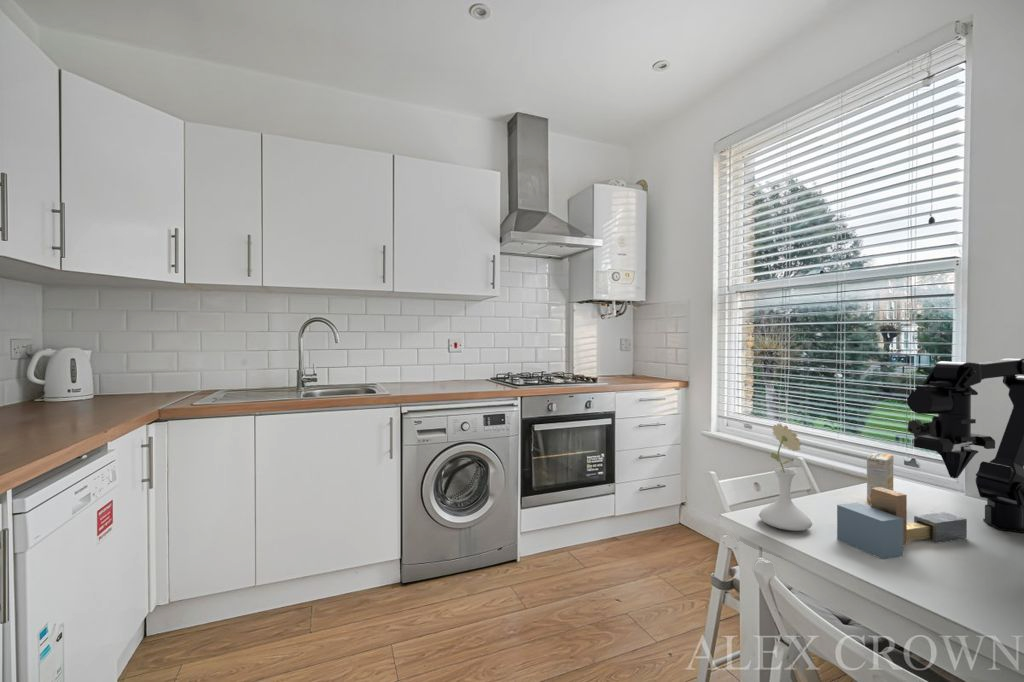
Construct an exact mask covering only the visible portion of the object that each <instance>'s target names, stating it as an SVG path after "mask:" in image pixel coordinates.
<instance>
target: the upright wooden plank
mask: <svg viewBox="0 0 1024 682" xmlns="http://www.w3.org/2000/svg"><path fill="white" fill-rule="evenodd" d="M907 496H908V495H907V494H905V493H901V492H898V491H895V490H893V491H892V490H889V489H885V488H882V487H877V488H871V502H870V507H871V508H874V509H877V510H880V511H883V512H886V513H889V514H892V515H895V516H898V517H900V518H903V546H907V542H911V541H917V540H925V538H932V537H933V525H930V524H927V523H924V522H915V523H914V522H908V523H907V521H908V520H907V519H908V518H907V517H908V516H907V513H908V512H907V511H908V510H907V509H908V507H907V506H908V505H907V504H908V503H907V502H908V501H907V499H908V498H907Z"/></svg>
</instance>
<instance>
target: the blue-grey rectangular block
mask: <svg viewBox="0 0 1024 682" xmlns="http://www.w3.org/2000/svg"><path fill="white" fill-rule="evenodd" d="M836 506H837V507H836V509H837V510H836V516H837V517H836V539H837V540H838V541H839V542H842V543H845V544H846V545H849V546H852V547H853V548H855V549H858V550H861V551H863V552H865V553H867V554H869V553H870V555H872V556H874V555H875V556H874V557H877V558H878V557H879V558H878V559H881V560H884V559H886V560H887V559H891V558H892V559H893V558H899V557H903V556H904V545H903V518H900V517H898V516H895V515H892V514H889V513H886V512H883V511H880V510H877V509H874V508H871V506H869V505H865V504H862V503H859V502H850V503H842V504H837V505H836Z"/></svg>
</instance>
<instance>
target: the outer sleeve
mask: <svg viewBox="0 0 1024 682" xmlns="http://www.w3.org/2000/svg"><path fill="white" fill-rule="evenodd" d="M913 521H914V522H913V523H915V522H924V523H927V524H930V525H933V537H932V538H925V539H924V540H925V541H929V542H931V543H934V544H939V542H940V543H946V541H947V542H952V541H953V540H954V541H960V540H959V539H961V540H966V539H965V538H967V534H968V530H967V529H968V525H967V521H968V519H967V518H966V517H961V516H958V515H955V514H952V513H949V512H946V511H943V512H936V513H935V512H933V513H929V514H928V513H927V514H920V515H919V514H918V515H914V516H913ZM951 540H952V541H951Z"/></svg>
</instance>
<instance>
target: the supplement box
mask: <svg viewBox="0 0 1024 682" xmlns="http://www.w3.org/2000/svg"><path fill="white" fill-rule="evenodd" d="M877 487H882V488H885V489H889V490H892V491H894V455H893V454H888V453H887V454H886V453H880V452H873V453H872V454H870V455H868V456H867V457H866V502H867V503H871V488H877Z"/></svg>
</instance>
